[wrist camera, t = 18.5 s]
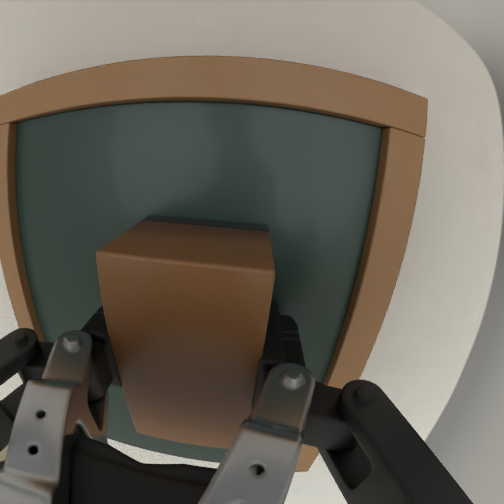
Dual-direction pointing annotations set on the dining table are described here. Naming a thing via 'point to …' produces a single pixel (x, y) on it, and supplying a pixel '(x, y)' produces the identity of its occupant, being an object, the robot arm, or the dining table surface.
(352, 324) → the slate board
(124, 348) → the eraser
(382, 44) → the dining table surface
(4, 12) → the dining table surface
